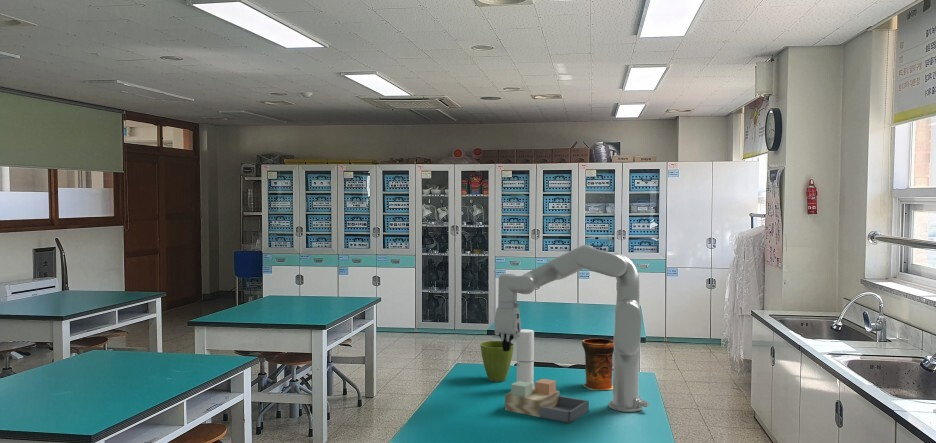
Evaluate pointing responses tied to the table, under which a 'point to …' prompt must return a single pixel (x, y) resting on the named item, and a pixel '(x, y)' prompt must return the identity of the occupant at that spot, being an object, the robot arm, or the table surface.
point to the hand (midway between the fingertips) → (506, 350)
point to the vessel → (598, 363)
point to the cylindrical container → (525, 356)
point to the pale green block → (521, 388)
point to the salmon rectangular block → (545, 386)
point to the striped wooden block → (531, 402)
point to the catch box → (565, 410)
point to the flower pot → (496, 360)
